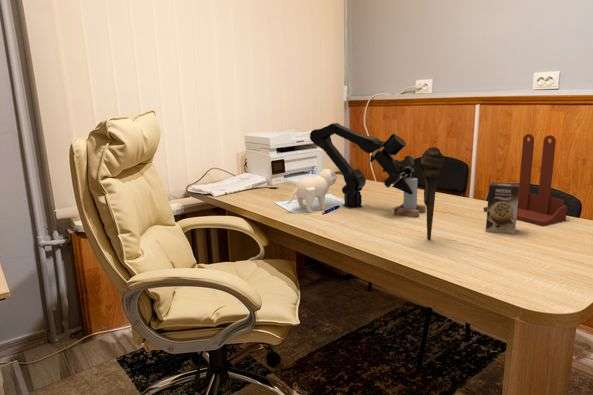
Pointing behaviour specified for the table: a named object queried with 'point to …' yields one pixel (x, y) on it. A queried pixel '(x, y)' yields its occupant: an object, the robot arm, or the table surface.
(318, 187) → the cat figurine
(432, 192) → the decorative torch
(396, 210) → the slot block
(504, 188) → the coffee box
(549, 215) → the hanging shelf
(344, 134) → the robot arm
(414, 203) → the peg
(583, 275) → the table surface
